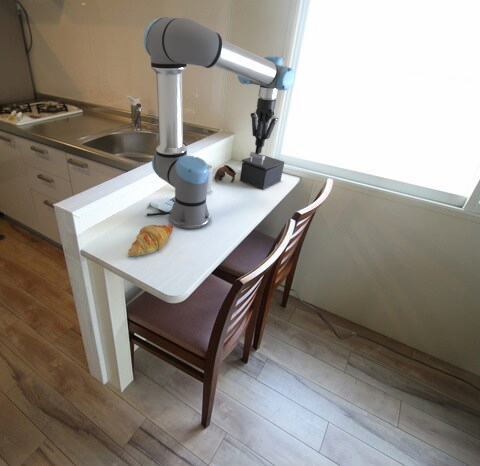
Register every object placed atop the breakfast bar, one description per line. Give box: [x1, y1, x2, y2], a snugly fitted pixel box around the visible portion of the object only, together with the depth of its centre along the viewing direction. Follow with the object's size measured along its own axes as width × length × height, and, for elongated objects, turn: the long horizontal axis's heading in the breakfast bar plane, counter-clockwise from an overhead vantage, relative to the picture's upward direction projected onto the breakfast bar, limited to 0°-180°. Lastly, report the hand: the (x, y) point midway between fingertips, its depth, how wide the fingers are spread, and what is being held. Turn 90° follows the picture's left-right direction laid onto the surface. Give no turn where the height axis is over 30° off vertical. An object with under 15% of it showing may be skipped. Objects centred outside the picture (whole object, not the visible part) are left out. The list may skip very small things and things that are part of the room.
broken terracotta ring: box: [213, 164, 237, 183], centre depth 156 cm, size 12×10×8 cm
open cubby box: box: [239, 162, 285, 190], centre depth 157 cm, size 16×14×9 cm
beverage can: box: [207, 163, 214, 194], centre depth 143 cm, size 6×6×12 cm
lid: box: [241, 151, 285, 170], centre depth 152 cm, size 16×14×5 cm
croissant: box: [127, 223, 174, 257], centre depth 107 cm, size 21×10×8 cm, turn 145°
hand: (258, 153), depth 147 cm, fingers closed
